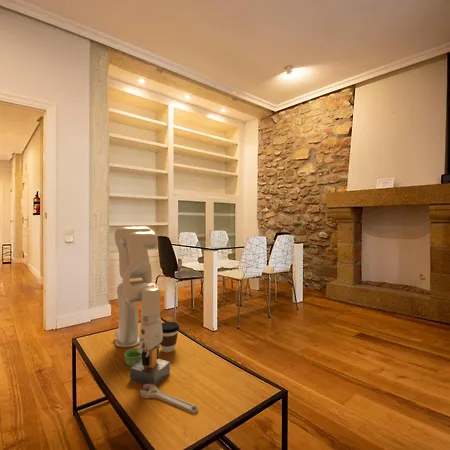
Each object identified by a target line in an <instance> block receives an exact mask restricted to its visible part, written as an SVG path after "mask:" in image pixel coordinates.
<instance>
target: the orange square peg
mask: <svg viewBox="0 0 450 450" xmlns="http://www.w3.org/2000/svg"><path fill="white" fill-rule="evenodd" d="M144 352H146V350H145V351H144ZM148 356H149V366H145V365H144V367H148V368H152V369H153V368H154V367H155V366H157V347H154V348H152V349H151V350H149V355H148Z"/></svg>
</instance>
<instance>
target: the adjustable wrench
mask: <svg viewBox="0 0 450 450" xmlns="http://www.w3.org/2000/svg"><path fill="white" fill-rule="evenodd" d="M142 385H143V389H140V390H139V395H140V396H141V397H142V398H145V399H152V398H155V399H158V400H161V401H163V402H166V403H168V404H170V405H172V406H175V407H176V408H179V409H182V410H185V411H186V412H188V413H191V414H196V413H198V412H199V406H197V405H195V404H193V403H191V402H188V401H185V400H183V399H180V398H178V397H175V396H173V395H170V394H168V393H166V392H163V391H161V390H160V389H158V387H157V385H156V386H155V385H154V384H142ZM147 390H148V391H147Z"/></svg>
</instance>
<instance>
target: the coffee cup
mask: <svg viewBox="0 0 450 450" xmlns="http://www.w3.org/2000/svg"><path fill="white" fill-rule="evenodd" d="M162 330H163V340H162V342H161V343H160V349H161V351H162V352H163V353H171V352H174V350H175V349H176V345H177V341H178V334H179V332H178V331H180V325H179V323H177V322H174V321H165V322H162Z"/></svg>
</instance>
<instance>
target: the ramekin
mask: <svg viewBox="0 0 450 450" xmlns="http://www.w3.org/2000/svg"><path fill="white" fill-rule="evenodd" d="M138 348H139V347H133V348H132V347H131V348H129V349H127V350H125V352H124V355H123V356H124V360H125V365H127V366H129V367H132V366H134V365H135V364H137V363H138V362H140V361H141V360H142V356H141V354H140V353H138V352H137V350H138Z"/></svg>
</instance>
